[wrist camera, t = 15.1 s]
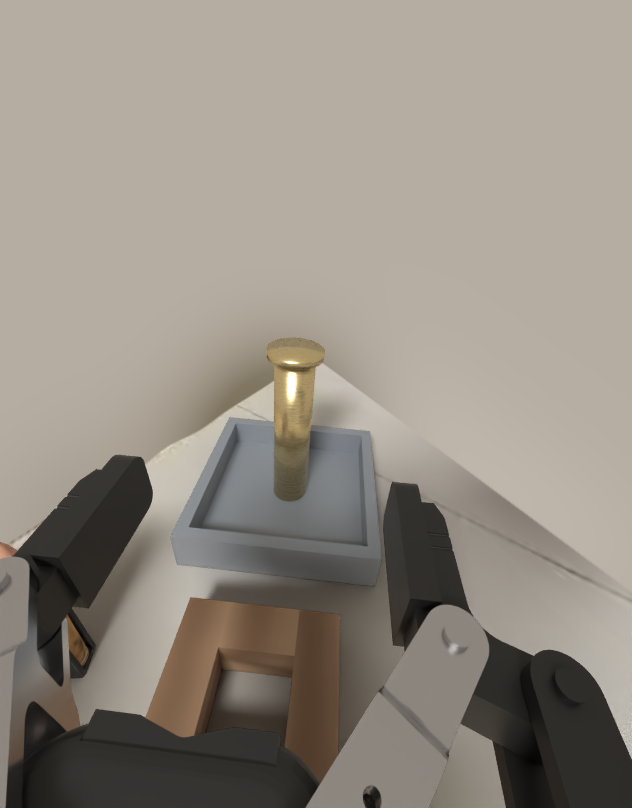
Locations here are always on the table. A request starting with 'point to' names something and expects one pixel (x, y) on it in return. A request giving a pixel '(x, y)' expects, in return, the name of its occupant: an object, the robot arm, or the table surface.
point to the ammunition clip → (69, 634)
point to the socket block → (256, 670)
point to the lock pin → (293, 412)
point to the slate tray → (284, 509)
